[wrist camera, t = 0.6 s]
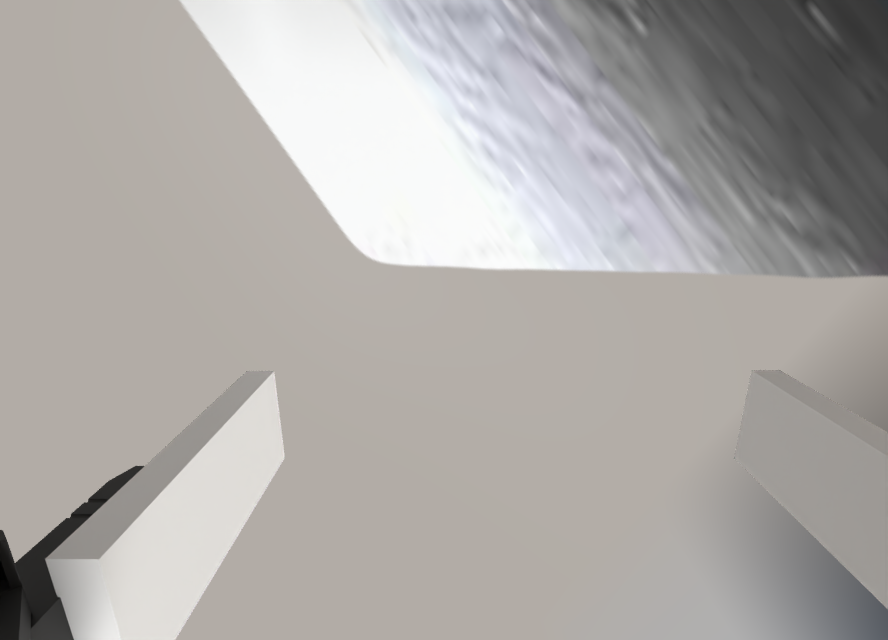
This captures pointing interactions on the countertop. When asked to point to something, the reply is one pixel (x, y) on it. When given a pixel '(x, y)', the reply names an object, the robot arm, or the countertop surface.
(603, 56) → the countertop surface
